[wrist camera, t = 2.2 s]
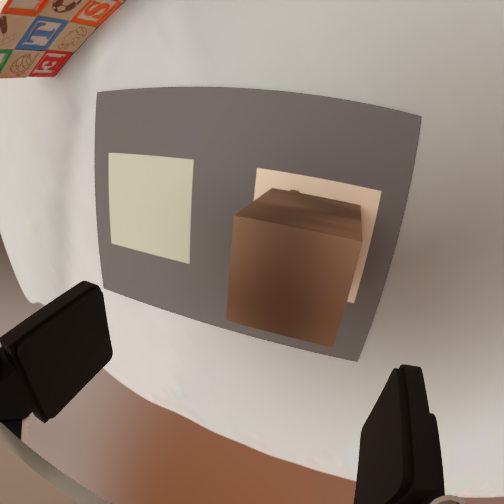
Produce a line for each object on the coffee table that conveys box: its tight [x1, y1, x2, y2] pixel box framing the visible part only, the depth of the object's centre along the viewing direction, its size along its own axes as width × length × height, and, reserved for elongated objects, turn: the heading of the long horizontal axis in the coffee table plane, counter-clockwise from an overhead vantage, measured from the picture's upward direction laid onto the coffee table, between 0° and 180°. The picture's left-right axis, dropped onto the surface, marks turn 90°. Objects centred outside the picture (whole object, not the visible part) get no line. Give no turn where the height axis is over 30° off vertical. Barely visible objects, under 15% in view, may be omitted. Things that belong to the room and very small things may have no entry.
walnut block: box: [226, 188, 362, 347], centre depth 16 cm, size 5×5×6 cm
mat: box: [95, 87, 421, 362], centre depth 20 cm, size 21×16×1 cm
